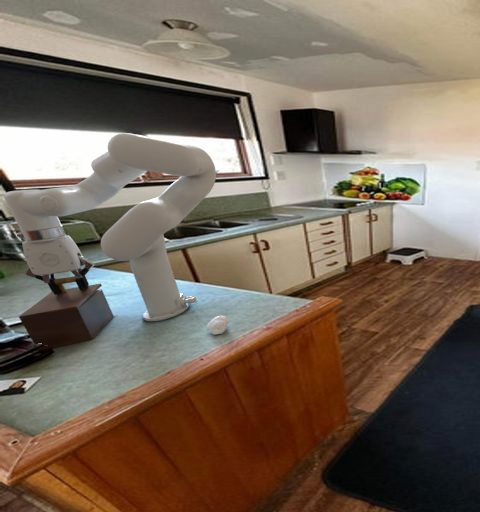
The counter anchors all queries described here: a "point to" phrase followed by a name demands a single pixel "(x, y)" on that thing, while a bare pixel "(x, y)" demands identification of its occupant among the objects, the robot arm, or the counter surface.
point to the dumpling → (218, 325)
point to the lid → (61, 299)
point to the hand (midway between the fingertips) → (72, 290)
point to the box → (70, 323)
